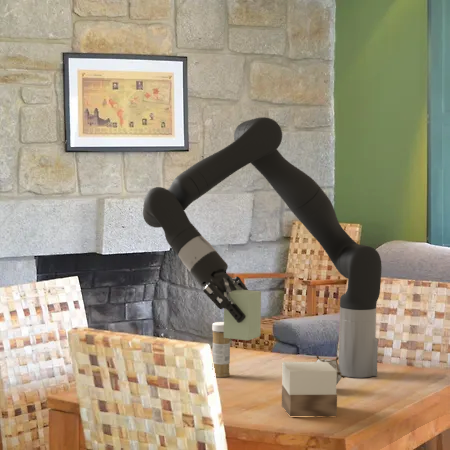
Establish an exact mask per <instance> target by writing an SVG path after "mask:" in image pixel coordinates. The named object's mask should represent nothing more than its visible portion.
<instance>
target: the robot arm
mask: <svg viewBox="0 0 450 450" xmlns="http://www.w3.org/2000/svg"><path fill="white" fill-rule="evenodd" d="M233 139H234V140H233V142H231V143H230V144H228V145H227V146H226V147H224V148H222V149H220V150H219V151H217V152H215V153H213V154H211V155H209V156H207V157H205V158H202V159H201V160H199V161H198V162H196V163H195V164H193V165H192V166H190V167H188V168H187V169H186V170H184V171H183V172H181V173H180V174H179V175H177V176H176V177H175V178H174V179H173V180H172V182H171V184H170V186H169V187H168V188H164V187H161V186H154V187H153V188H150V189H149V190H148V191H147V193H145V196H144V199H143V207H142V216H143V217H142V218H143V220H144V222H145V223H146V224H147V225H148V226H149V227H152V228H156V229H157V228H161V229H162V230H163V233H164V236H165V240H166V242H167V244H168V245H169V246H170V247H171V248H172V250H173V251H174V252H175V253H176V255H177V256H178V257H179V259H180V261H181V262H182V264H183V265H184V267H186V269H187V270H188V272H189V273H190V274H191V275H192V276H193V278H194V279H195V281H197V283H198V284H199V285H200V286H201V287H203V289H202V291H203V293H204V294H205V295H206V297H208V299H210V300H211V301H212V302H213V304H214V305H215V306H217V308H218V309H219V310H224V309H225V310H226V311H229V312H230V314H231V315H232V316H233V317H234V319H235V320H236V321H237V322H238V323H240V322H242V321H243V320H244V319H245V317H246V316H245V314H244V313H243V312H242V311H241V309H240V308H239V307H238V306H237V305H236V304H234V303H235V302H234V300H233V299H232V298H231V297H230V293H232V291H234V290H236V289H237V290H249V288H248V287H247V286H246V285H245V283H244V282H243V281H242V279H241V278H240V277H239V276H235V277H234V278H232V276H230V275H229V274H227V270H228V268H229V266H228V263H227V262H226V261H225V260H224V259H223V258H222V256H221V255H220V254H219V252H218V251H217V250H216V249H215V248H214V247H213V245H212V244H211V243H210V242H209V241H208V240H207V239H205V237H204V236H203V235H202V234H201V233H200V231H198V229H197V228H196V227H195V226H194V224H193V223H192V222H191V220H190V219H189V217H188V214H186V212H185V210H186V209H187V208H188V207H189V206H190V205H191V204H192V203H194V202H195V201H196V200H198V199H199V198H201V197H202V196H204V195H205V194H207V193H209V191H211V190H212V189H213V188H215V187H216V186H217V185H219V184H221V182H223V181H224V180H226V179H227V178H228V177H230V176H231V175H233V174H234V173H236V172H238V171H239V170H241V169H242V168H244V167H245V166H247V165H249V164H251V165H252V166H253V167H254V168H255V169H256V170H257V171H258V172H259V173H260V174H261V175H262V176H263V177H264V178H265V180H266V181H267V182H268V183H269V185H270V186H271V187H272V189H273V190H274V191H275V192H276V193H277V195H278V196H279V197H280V198H281V199H282V201H283V202H284V203H285V205H286V206H287V207H288V208H289V210H290V211H291V212H292V213H293V215H294V216H295V217H296V218H297V220H298V221H299V222H300V223H301V224H302V225H303V226H304V228H305V229H306V230H307V231H308V232H309V234H310V235H311V236H312V237H313V238H314V239H315V240H316V241H317V242H318V243H319V245H320V246H321V248H322V249H323V250H324V251H325V253H326V254H327V256H328V258H329V260H330V261H331V263H332V264H333V265H334V267H335V269H336V270H337V272H339V274H340V275H341V276H343V277H344V278H345V279H347V289H346V292H344V294H342V295H341V296H340V298H339V299H340V300H339V331H338V333H339V334H338V336H339V337H338V339H339V340H338V366H339V368H340V371H341V374H342V376H345V377H347V378H348V377H349V378H360V379H361V378H371V377H377V376H378V357H379V356H378V354H379V353H378V352H379V346H378V345H379V339H378V338H377V337H376V335H377V334H376V332H377V329H376V328H377V305H378V304H377V303H378V300H379V297H380V294H381V285H382V284H381V283H382V282H381V281H382V260H381V255H380V254H379V252H378V251H377V249H376V248H374V247H373V246H370V245H365V244H360V243H357V242H356V241H355V240H354V239H353V238H352V237H350V235H349V234H348V233H347V232H346V231H345V230H344V228H343V227H342V226H341V224H340V222H339V219H338V217H337V214H336V211H335V210H336V209H335V208H334V206H333V203H332V202H331V199H330V198H329V196H328V195H327V194H326V193H325V191H324V190H323V189H322V187H320V185H319V184H318V183H317V182H316V181H315V180H314V179H313V178H312V177H311V176H309V175H308V174H307V173H305V172H304V171H302V170H301V169H299V168H298V167H297V166H295V165H293V164H292V162H290V161H288V160H287V159H286V158H285V157H284V156H283V155H282V154H281V152H280V151H279V150H278V149H279V147H280V146H281V143H282V140H283V131H282V128H281V125H280V124H279V123H278V122H277V121H276V120H274V119H273V118H270V117H266V116H265V117H264V116H263V117H256V118H252V119H249V120H245V121H243V122H241V123H239V124H238V125H237V127H236V128H235V130H234V133H233ZM224 292H226V293H225V294H224ZM227 298H228V299H227Z"/></svg>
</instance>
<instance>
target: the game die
mask: <svg viewBox="0 0 450 450" xmlns="http://www.w3.org/2000/svg"><path fill="white" fill-rule="evenodd" d="M338 361H339V356H337V357H336V358H335V359H334V358H333V359H332V358H331V359H330V358H323V357H322V358H320V356H319V355H316V361H315V362H328V363H329V364H330V365H331V366H332V367H333V368H334V369H335V370H336V371H337V380H336V386H338V384H339V382H340V381H341V380H342V379H345V378H346V376H343V375H342V374H341V371H340V368H339V366H338V364H339V362H338Z"/></svg>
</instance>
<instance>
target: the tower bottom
mask: <svg viewBox="0 0 450 450" xmlns="http://www.w3.org/2000/svg"><path fill="white" fill-rule="evenodd" d="M337 405H338V394H337V393H336V395H289V394H288V392H287V391H286V389H285V388H284V386H283V385H282V384H281V407H282V408H284V409H285V410H286V411H285V410H284V409H283V410H284V411H285V413H286V412H287V413H288V414H289V415H290V416H338V406H337ZM287 413H286V414H287ZM288 414H287V415H288Z"/></svg>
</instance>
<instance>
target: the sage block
mask: <svg viewBox="0 0 450 450" xmlns="http://www.w3.org/2000/svg"><path fill="white" fill-rule="evenodd" d="M225 293H226V292H224V294H225ZM230 297H231V298H232V299H233V300H234V302H235V303H234V304H236V305H237V306H238V307H239V308H240V309H241V311H242V312H243V313H244V314H245V316H246V317H245V319H244V320H243V321H242V322H240V323H238V322H237V321H236V320H235V319H234V317H233V316H232V315H231V314H230V312H229V311H226V310H225V309H224V308H223V322H224V338H230V340H231V339H233V340H241V341H251V340H253V339H256V338H260V337H261V332H262V331H261V328H262V327H261V325H262V323H261V321H262V320H261V317H262V316H261V315H262V308H261V307H262V291H261V290H252V289H251V290H250V289H248V290H237V289H236V290H234V291H232V293H230ZM227 299H228V298H227Z"/></svg>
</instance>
